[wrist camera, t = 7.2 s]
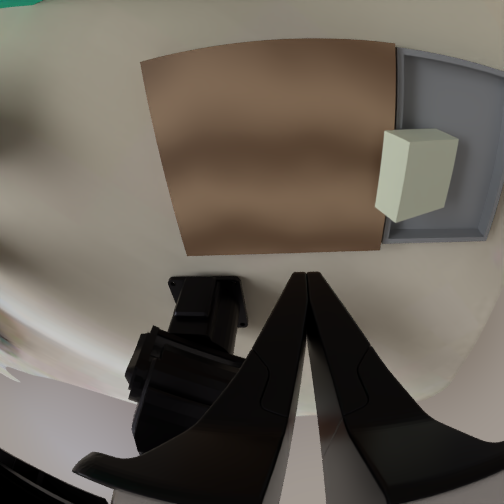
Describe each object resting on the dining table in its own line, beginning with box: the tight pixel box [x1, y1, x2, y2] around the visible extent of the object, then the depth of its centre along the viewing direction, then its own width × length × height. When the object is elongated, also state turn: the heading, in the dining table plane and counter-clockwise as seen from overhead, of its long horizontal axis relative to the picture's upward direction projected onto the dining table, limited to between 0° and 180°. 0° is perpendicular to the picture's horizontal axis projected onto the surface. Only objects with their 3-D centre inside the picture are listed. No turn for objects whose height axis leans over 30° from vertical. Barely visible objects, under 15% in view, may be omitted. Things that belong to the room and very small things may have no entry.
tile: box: [375, 128, 459, 223], centre depth 16 cm, size 5×5×2 cm
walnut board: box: [140, 39, 396, 256], centre depth 18 cm, size 14×14×2 cm
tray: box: [381, 47, 504, 244], centre depth 17 cm, size 14×10×2 cm
